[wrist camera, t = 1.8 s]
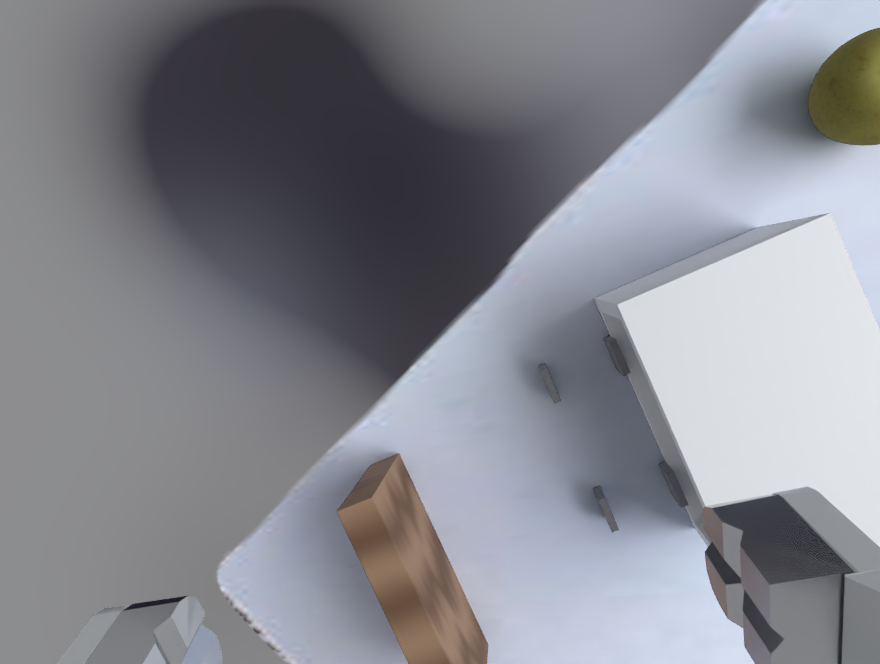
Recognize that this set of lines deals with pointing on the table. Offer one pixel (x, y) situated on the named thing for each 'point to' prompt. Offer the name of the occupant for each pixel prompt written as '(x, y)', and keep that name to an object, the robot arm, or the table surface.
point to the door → (410, 569)
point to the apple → (849, 92)
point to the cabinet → (755, 371)
